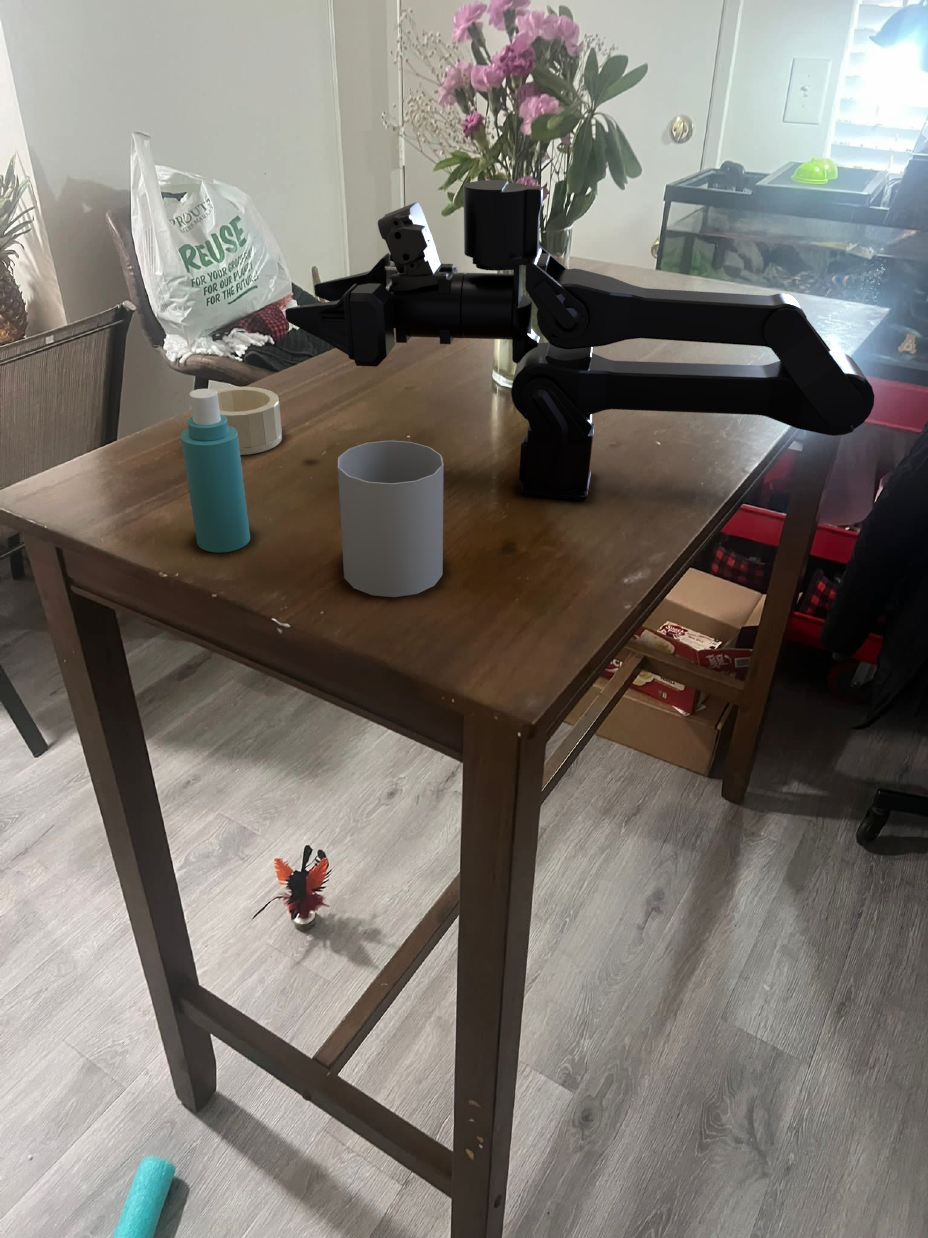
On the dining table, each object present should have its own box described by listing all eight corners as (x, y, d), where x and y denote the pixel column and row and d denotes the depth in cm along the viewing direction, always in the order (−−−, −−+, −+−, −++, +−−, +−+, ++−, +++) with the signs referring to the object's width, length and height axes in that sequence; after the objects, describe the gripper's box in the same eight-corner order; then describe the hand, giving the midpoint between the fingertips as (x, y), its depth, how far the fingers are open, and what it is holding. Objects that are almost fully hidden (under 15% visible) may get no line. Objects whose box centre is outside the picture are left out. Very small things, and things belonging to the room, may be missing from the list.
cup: (418, 605, 72) (418, 491, 67) (326, 585, 75) (318, 473, 69) (456, 557, 79) (458, 449, 74) (370, 539, 81) (366, 434, 76)
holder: (293, 428, 103) (289, 390, 100) (265, 458, 96) (261, 417, 93) (221, 422, 104) (216, 383, 101) (189, 451, 97) (182, 410, 94)
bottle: (257, 530, 82) (241, 385, 75) (238, 555, 78) (218, 405, 71) (210, 525, 83) (188, 381, 75) (188, 549, 79) (163, 400, 72)
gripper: (478, 193, 87) (320, 192, 89) (445, 231, 71) (255, 228, 73) (478, 313, 93) (330, 309, 95) (449, 371, 77) (273, 364, 79)
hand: (301, 301), depth 85 cm, fingers open, 9 cm apart
